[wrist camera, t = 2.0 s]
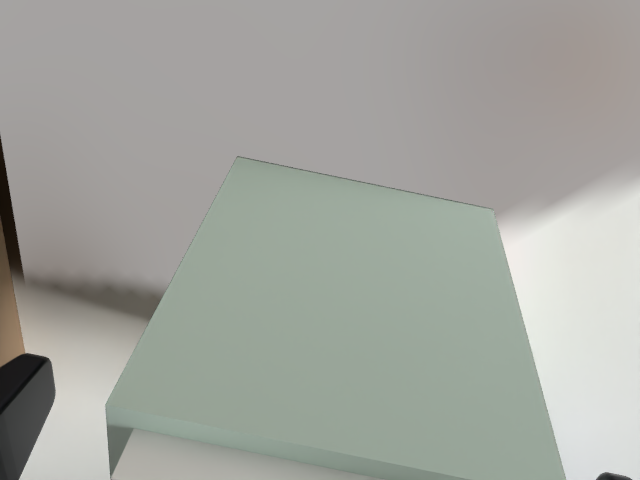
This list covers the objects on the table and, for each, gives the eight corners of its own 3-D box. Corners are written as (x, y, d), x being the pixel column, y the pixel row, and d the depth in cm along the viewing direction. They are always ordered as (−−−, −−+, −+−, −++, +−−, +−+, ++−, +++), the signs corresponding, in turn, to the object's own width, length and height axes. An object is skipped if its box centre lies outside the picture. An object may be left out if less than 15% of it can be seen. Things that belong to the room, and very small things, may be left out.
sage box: (493, 208, 11) (587, 558, 6) (422, 382, 14) (439, 725, 8) (237, 156, 11) (80, 453, 6) (219, 340, 14) (104, 657, 8)
